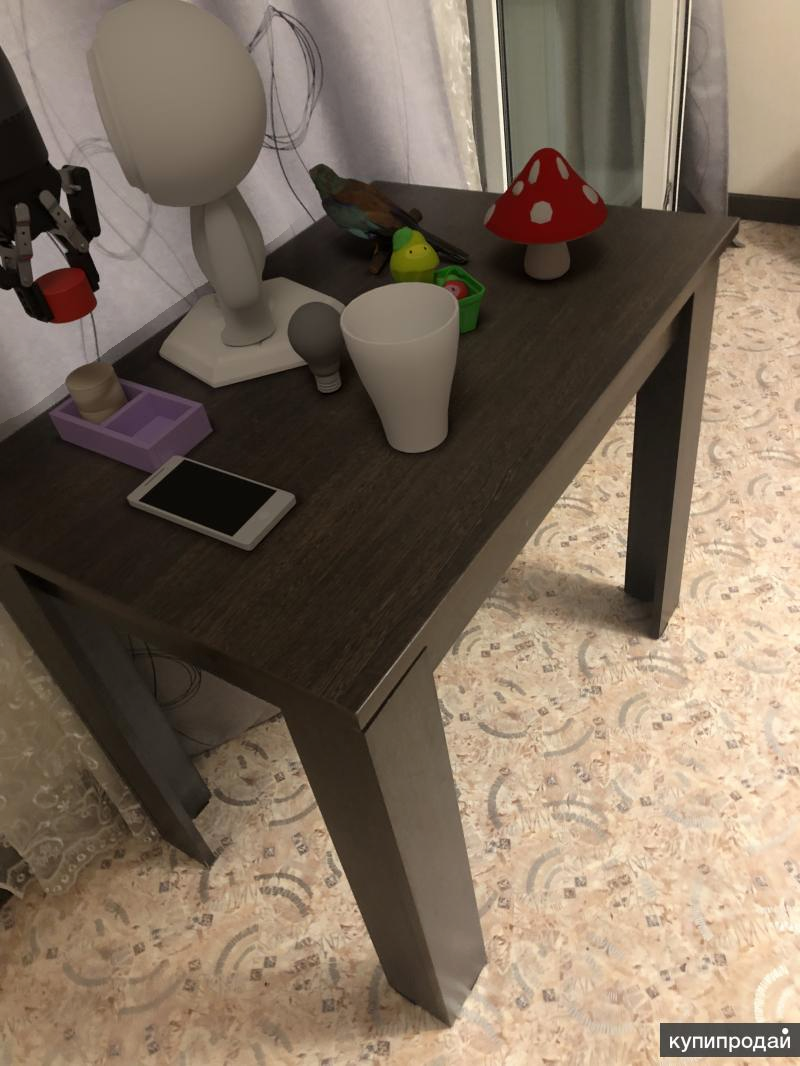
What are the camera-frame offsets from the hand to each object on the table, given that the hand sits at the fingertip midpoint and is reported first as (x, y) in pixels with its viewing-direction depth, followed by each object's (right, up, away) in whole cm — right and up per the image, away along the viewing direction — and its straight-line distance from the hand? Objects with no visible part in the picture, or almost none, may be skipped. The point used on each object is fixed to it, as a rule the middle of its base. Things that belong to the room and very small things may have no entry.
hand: (67, 304), depth 76 cm
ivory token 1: (-1, -7, +10) cm, 12 cm away
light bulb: (+23, -6, +12) cm, 27 cm away
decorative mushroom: (+49, +10, +24) cm, 55 cm away
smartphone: (+13, -19, +1) cm, 23 cm away
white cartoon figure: (+13, +3, +23) cm, 27 cm away
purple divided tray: (+3, -11, +11) cm, 16 cm away
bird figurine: (+30, +15, +32) cm, 47 cm away
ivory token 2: (0, -9, +12) cm, 15 cm away
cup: (+33, -12, +5) cm, 35 cm away
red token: (0, 0, 0) cm, 1 cm away
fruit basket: (+34, +2, +18) cm, 39 cm away
